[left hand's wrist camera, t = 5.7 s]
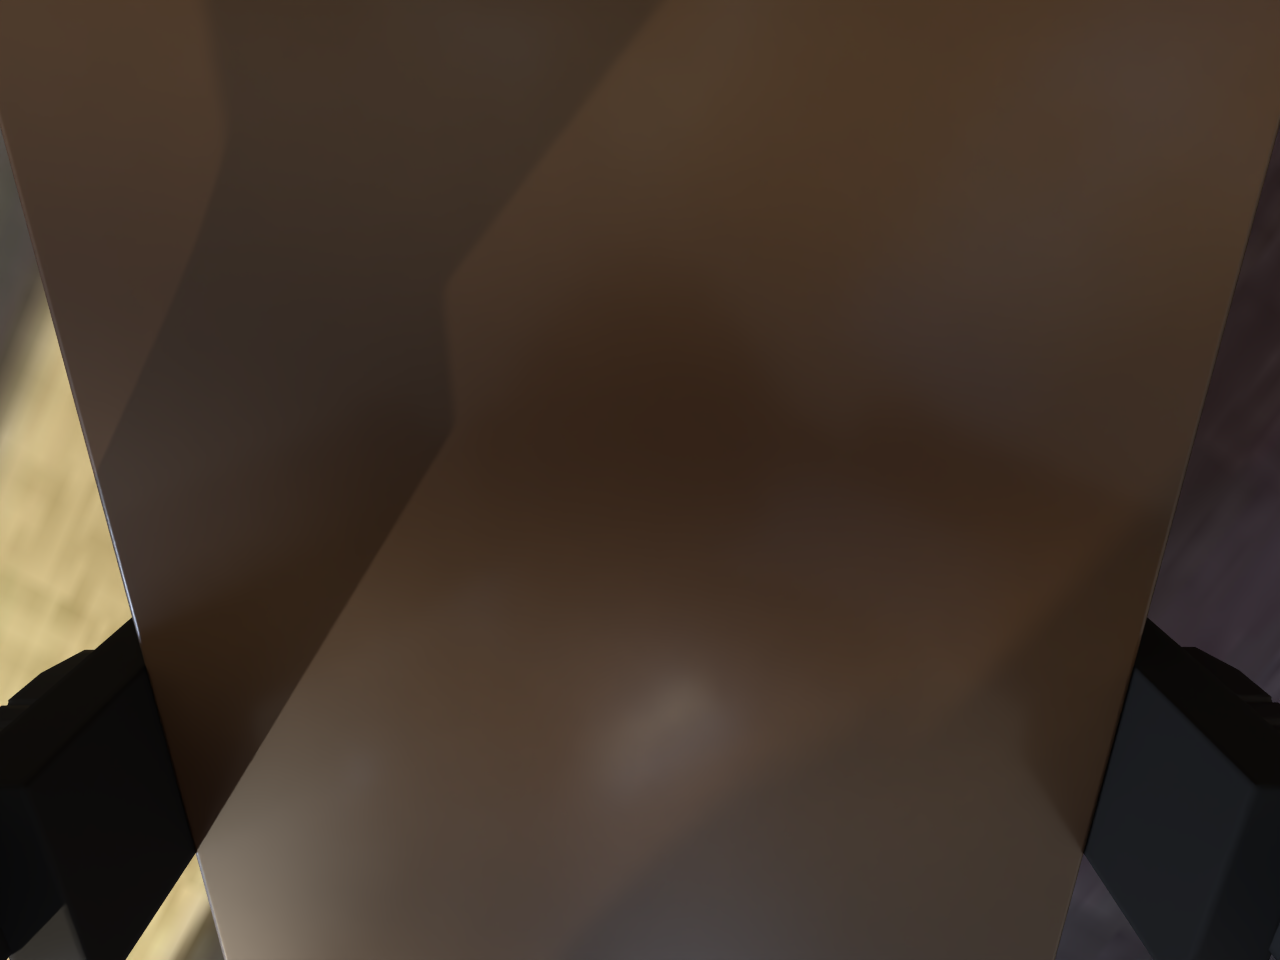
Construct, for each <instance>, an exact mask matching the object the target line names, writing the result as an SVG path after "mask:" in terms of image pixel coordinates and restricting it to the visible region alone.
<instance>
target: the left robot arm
mask: <svg viewBox="0 0 1280 960" xmlns="http://www.w3.org/2000/svg"><path fill="white" fill-rule="evenodd" d="M195 853H196V852H195V848H194V845H193V841H192V837H191V833H190V830H189V826H188V822H187V819H186V815H185V811H184V807H183V804H182V800H181V796H180V793H179V789H178V785H177V781H176V778H175V774H174V770H173V766H172V763H171V759H170V755H169V752H168V748H167V744H166V740H165V737H164V733H163V729H162V726H161V722H160V718H159V714H158V711H157V707H156V703H155V700H154V696H153V692H152V688H151V685H150V681H149V677H148V674H147V670H146V666H145V662H144V659H143V655H142V651H141V648H140V644H139V640H138V636H137V633H136V629H135V625H134V622H133V618H131V619H130V620H128V621H127V622H126V623H125V624H124V625H123V626H122V627H120V628H119V629H118V630H117V631H116V632H115V633H113V634H112V635H111V636H110V637H109V638H108V639H107V640H105V641H104V642H103V643H102V644H101V645H100V646H98V647H97V648H96V649H95V650H84V651H82V652H80V653H78V654H76V655H74V656H72V657H70V658H68V659H67V660H65V661H63V662H61V663H59V664H57V665H55V666H53V667H51V668H50V669H48V670H46V671H44V672H42V673H41V674H39V675H38V676H37V677H36V678H34V679H33V680H32V681H31V682H30V683H28V684H27V685H26V686H25V687H24V688H22V689H21V690H20V691H19V692H18V693H16V694H15V695H14V696H13V697H12V698H10V699H9V700H8V705H7V706H1V707H0V960H7V958H8V957H9V959H10V960H126V958H127V957H128V955H129V954H130V952H131V951H132V949H133V948H134V946H135V945H136V943H137V941H138V940H139V938H140V937H141V935H142V934H143V932H144V931H145V929H146V928H147V926H148V925H149V923H150V922H151V920H152V919H153V917H154V916H155V914H156V913H157V911H158V909H159V908H160V906H161V905H162V903H163V902H164V900H165V899H166V897H167V896H168V894H169V893H170V891H171V890H172V888H173V887H174V885H175V884H176V882H177V881H178V879H179V878H180V876H181V874H182V873H183V871H184V870H185V868H186V867H187V865H188V864H189V862H190V861H191V859H192V858H193V856H194V855H195ZM1084 854H1085V856H1086V857H1087V859H1088V861H1089V862H1090V864H1091V865H1092V867H1093V868H1094V870H1095V871H1096V873H1097V874H1098V876H1099V877H1100V879H1101V880H1102V882H1103V883H1104V885H1105V886H1106V888H1107V889H1108V891H1109V892H1110V894H1111V896H1112V897H1113V899H1114V900H1115V902H1116V903H1117V905H1118V906H1119V908H1120V909H1121V911H1122V912H1123V914H1124V915H1125V917H1126V918H1127V920H1128V921H1129V923H1130V924H1131V926H1132V928H1133V929H1134V931H1135V932H1136V934H1137V935H1138V937H1139V938H1140V940H1141V941H1142V943H1143V944H1144V946H1145V947H1146V949H1147V950H1148V952H1149V953H1150V955H1151V956H1152V958H1153V960H1269V958H1270V956H1271V954H1272V955H1273V956H1274V958H1275V959H1276V960H1280V704H1279V703H1278V702H1272V700H1271V696H1270V695H1268V694H1267V693H1266V692H1265V691H1264V690H1262V689H1261V688H1260V687H1259V686H1257V685H1256V684H1255V683H1254V682H1253V681H1251V680H1250V679H1249V678H1248V677H1246V676H1245V675H1244V674H1243V673H1242V672H1240V671H1239V670H1238V669H1236V668H1234V667H1232V666H1230V665H1228V664H1226V663H1224V662H1222V661H1221V660H1219V659H1217V658H1215V657H1213V656H1211V655H1209V654H1207V653H1205V652H1203V651H1202V650H1200V649H1198V648H1196V647H1181V646H1179V645H1178V644H1177V643H1176V642H1175V641H1174V640H1173V639H1171V638H1170V637H1169V636H1168V635H1167V634H1166V633H1164V632H1163V631H1162V630H1161V629H1160V628H1159V627H1158V626H1156V625H1155V624H1154V623H1153V622H1152V621H1151V620H1149V619H1148V618H1147V619H1146V623H1145V626H1144V630H1143V634H1142V637H1141V641H1140V645H1139V649H1138V652H1137V656H1136V660H1135V663H1134V667H1133V671H1132V675H1131V678H1130V682H1129V686H1128V689H1127V693H1126V697H1125V701H1124V704H1123V708H1122V712H1121V715H1120V719H1119V723H1118V727H1117V730H1116V734H1115V738H1114V741H1113V745H1112V749H1111V753H1110V756H1109V760H1108V764H1107V767H1106V771H1105V775H1104V779H1103V782H1102V786H1101V790H1100V793H1099V797H1098V801H1097V805H1096V808H1095V812H1094V816H1093V819H1092V823H1091V827H1090V831H1089V834H1088V838H1087V842H1086V845H1085V849H1084Z"/></svg>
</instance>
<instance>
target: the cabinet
mask: <svg viewBox="0 0 1280 960" xmlns="http://www.w3.org/2000/svg"><path fill="white" fill-rule="evenodd" d="M1279 125H1280V0H0V127H1V131H2V135H3V138H4V142H5V146H6V150H7V153H8V157H9V161H10V164H11V168H12V172H13V176H14V179H15V183H16V187H17V190H18V194H19V198H20V202H21V205H22V209H23V213H24V216H25V220H26V224H27V228H28V231H29V235H30V239H31V242H32V246H33V250H34V254H35V257H36V261H37V265H38V268H39V272H40V276H41V280H42V283H43V287H44V291H45V294H46V298H47V302H48V306H49V309H50V313H51V317H52V321H53V324H54V328H55V332H56V335H57V339H58V343H59V347H60V350H61V354H62V358H63V361H64V365H65V369H66V373H67V376H68V380H69V384H70V387H71V391H72V395H73V399H74V402H75V406H76V410H77V413H78V417H79V421H80V425H81V428H82V432H83V436H84V439H85V443H86V447H87V451H88V454H89V458H90V462H91V465H92V469H93V473H94V477H95V480H96V484H97V488H98V491H99V495H100V499H101V503H102V506H103V510H104V514H105V517H106V521H107V525H108V529H109V532H110V536H111V540H112V543H113V547H114V551H115V555H116V558H117V562H118V566H119V570H120V573H121V577H122V581H123V584H124V588H125V592H126V596H127V599H128V603H129V607H130V610H131V614H132V618H133V622H134V625H135V629H136V633H137V636H138V640H139V644H140V648H141V651H142V655H143V659H144V662H145V666H146V670H147V674H148V677H149V681H150V685H151V688H152V692H153V696H154V700H155V703H156V707H157V711H158V714H159V718H160V722H161V726H162V729H163V733H164V737H165V740H166V744H167V748H168V752H169V755H170V759H171V763H172V766H173V770H174V774H175V778H176V781H177V785H178V789H179V793H180V796H181V800H182V804H183V807H184V811H185V815H186V819H187V822H188V826H189V830H190V833H191V837H192V841H193V845H194V848H195V852H196V856H197V859H198V863H199V867H200V871H201V874H202V878H203V882H204V885H205V889H206V893H207V897H208V900H209V904H210V908H211V911H212V915H213V919H214V923H215V926H216V930H217V934H218V937H219V941H220V945H221V949H222V952H223V956H224V960H1055V957H1056V953H1057V949H1058V946H1059V942H1060V938H1061V935H1062V931H1063V927H1064V923H1065V920H1066V916H1067V912H1068V909H1069V905H1070V901H1071V897H1072V894H1073V890H1074V886H1075V883H1076V879H1077V875H1078V871H1079V868H1080V864H1081V860H1082V857H1083V853H1084V849H1085V845H1086V842H1087V838H1088V834H1089V831H1090V827H1091V823H1092V819H1093V816H1094V812H1095V808H1096V805H1097V801H1098V797H1099V793H1100V790H1101V786H1102V782H1103V779H1104V775H1105V771H1106V767H1107V764H1108V760H1109V756H1110V753H1111V749H1112V745H1113V741H1114V738H1115V734H1116V730H1117V727H1118V723H1119V719H1120V715H1121V712H1122V708H1123V704H1124V701H1125V697H1126V693H1127V689H1128V686H1129V682H1130V678H1131V675H1132V671H1133V667H1134V663H1135V660H1136V656H1137V652H1138V649H1139V645H1140V641H1141V637H1142V634H1143V630H1144V626H1145V623H1146V619H1147V615H1148V611H1149V608H1150V604H1151V600H1152V597H1153V593H1154V589H1155V585H1156V582H1157V578H1158V574H1159V571H1160V567H1161V563H1162V559H1163V556H1164V552H1165V548H1166V545H1167V541H1168V537H1169V533H1170V530H1171V526H1172V522H1173V519H1174V515H1175V511H1176V507H1177V504H1178V500H1179V496H1180V493H1181V489H1182V485H1183V481H1184V478H1185V474H1186V470H1187V467H1188V463H1189V459H1190V455H1191V452H1192V448H1193V444H1194V441H1195V437H1196V433H1197V429H1198V426H1199V422H1200V418H1201V415H1202V411H1203V407H1204V403H1205V400H1206V396H1207V392H1208V389H1209V385H1210V381H1211V377H1212V374H1213V370H1214V366H1215V363H1216V359H1217V355H1218V351H1219V348H1220V344H1221V340H1222V337H1223V333H1224V329H1225V325H1226V322H1227V318H1228V314H1229V311H1230V307H1231V303H1232V299H1233V296H1234V292H1235V288H1236V285H1237V281H1238V277H1239V273H1240V270H1241V266H1242V262H1243V259H1244V255H1245V251H1246V247H1247V244H1248V240H1249V236H1250V233H1251V229H1252V225H1253V221H1254V218H1255V214H1256V210H1257V207H1258V203H1259V199H1260V195H1261V192H1262V188H1263V184H1264V181H1265V177H1266V173H1267V169H1268V166H1269V162H1270V158H1271V155H1272V151H1273V147H1274V143H1275V140H1276V136H1277V132H1278V129H1279Z"/></svg>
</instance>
